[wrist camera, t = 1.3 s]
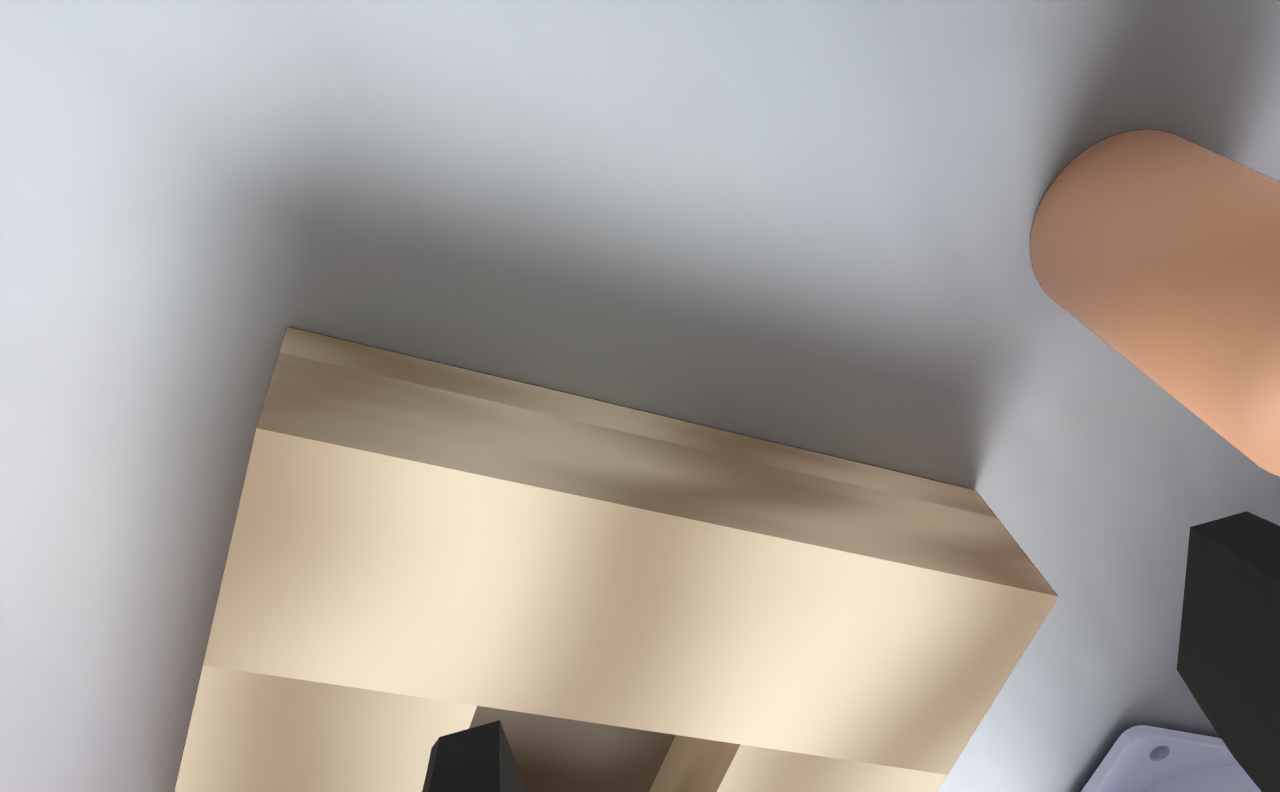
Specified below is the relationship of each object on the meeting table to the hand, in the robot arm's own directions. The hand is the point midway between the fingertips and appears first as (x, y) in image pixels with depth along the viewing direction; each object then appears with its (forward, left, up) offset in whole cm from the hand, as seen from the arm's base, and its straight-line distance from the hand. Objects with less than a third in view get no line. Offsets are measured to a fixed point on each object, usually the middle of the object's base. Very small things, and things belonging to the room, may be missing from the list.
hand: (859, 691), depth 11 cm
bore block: (-1, +9, -10) cm, 13 cm away
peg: (-8, -4, -10) cm, 13 cm away
